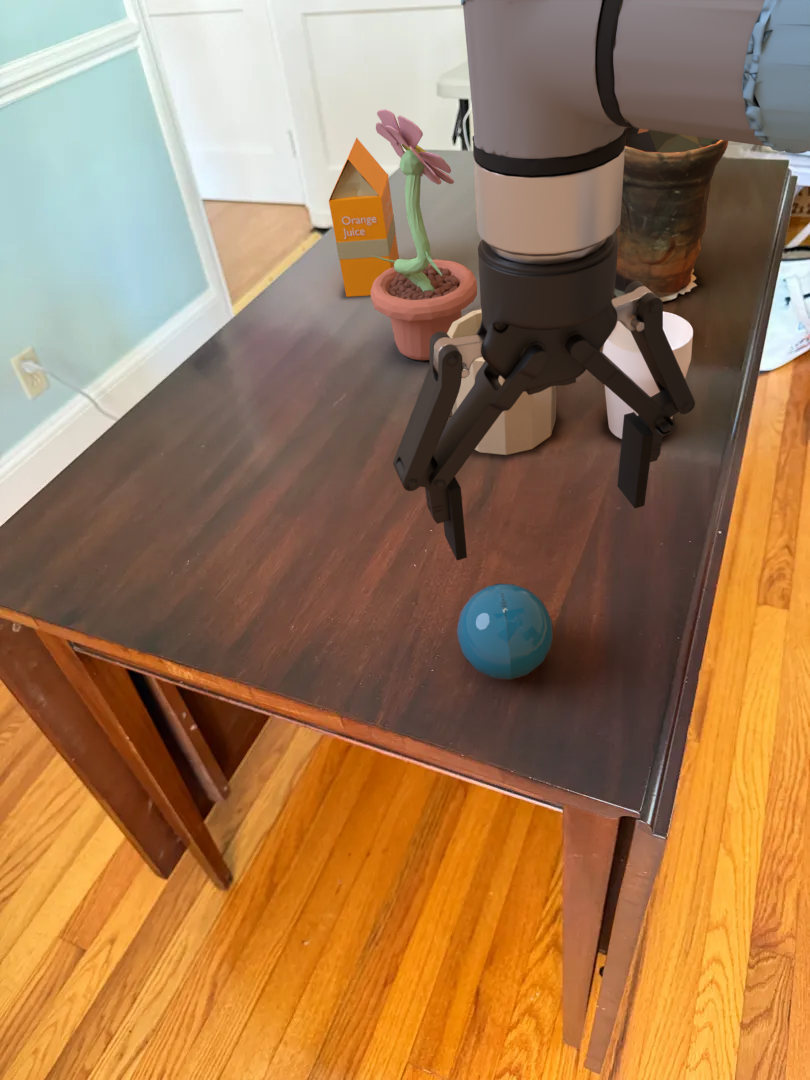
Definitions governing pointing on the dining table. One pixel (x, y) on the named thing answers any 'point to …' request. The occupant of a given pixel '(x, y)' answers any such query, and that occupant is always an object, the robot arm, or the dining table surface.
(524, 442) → the beige faceted pot
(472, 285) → the decorative flower
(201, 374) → the dining table surface
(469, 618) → the ball
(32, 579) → the dining table surface
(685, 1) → the robot arm
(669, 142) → the vessel
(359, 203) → the orange juice
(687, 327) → the cup
